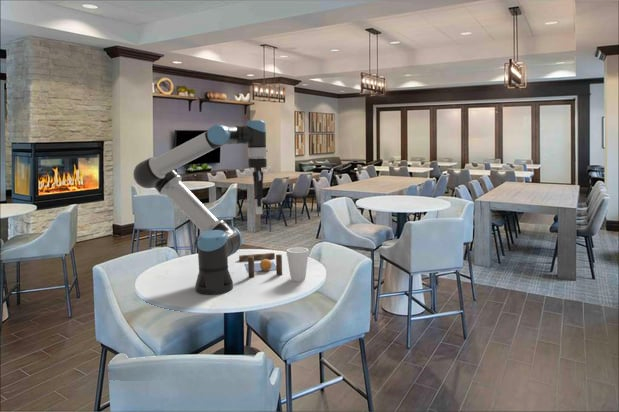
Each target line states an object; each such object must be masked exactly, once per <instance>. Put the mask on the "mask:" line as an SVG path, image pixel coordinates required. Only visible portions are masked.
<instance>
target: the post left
mask: <svg viewBox="0 0 619 412" xmlns="http://www.w3.org/2000/svg"><path fill="white" fill-rule="evenodd" d="M254 263H255V260H254V257H253V256H250V257H248V261H247V264H248V271H247V273H248V278H251V279H253V278H255V272H254Z"/></svg>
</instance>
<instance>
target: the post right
mask: <svg viewBox="0 0 619 412" xmlns="http://www.w3.org/2000/svg"><path fill="white" fill-rule="evenodd" d="M282 255H283V254H279V253H278V254H275V266H276V270H275V271H276V276H282V275H283V256H282Z"/></svg>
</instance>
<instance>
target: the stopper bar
mask: <svg viewBox="0 0 619 412" xmlns="http://www.w3.org/2000/svg"><path fill="white" fill-rule="evenodd" d="M250 256H253V257H254V261H260V260H261V261H262V260H264V259H268V260H273V259H275V260H276V254H275V252H268V253H256V254H254V253H253V254H241V255H240V254H239V256H238V260H239V262H246V261H247V262H248V257H250Z"/></svg>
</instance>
